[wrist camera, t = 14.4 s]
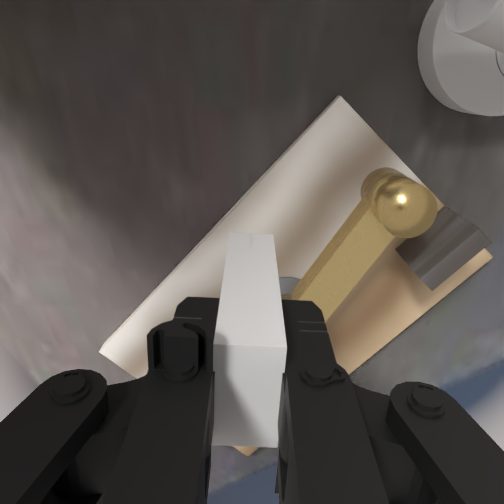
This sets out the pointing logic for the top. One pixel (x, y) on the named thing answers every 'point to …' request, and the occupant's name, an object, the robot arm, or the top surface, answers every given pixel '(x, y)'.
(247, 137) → the top surface
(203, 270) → the door plate
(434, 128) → the top surface
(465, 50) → the wall hook
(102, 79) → the top surface
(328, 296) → the latch lever
